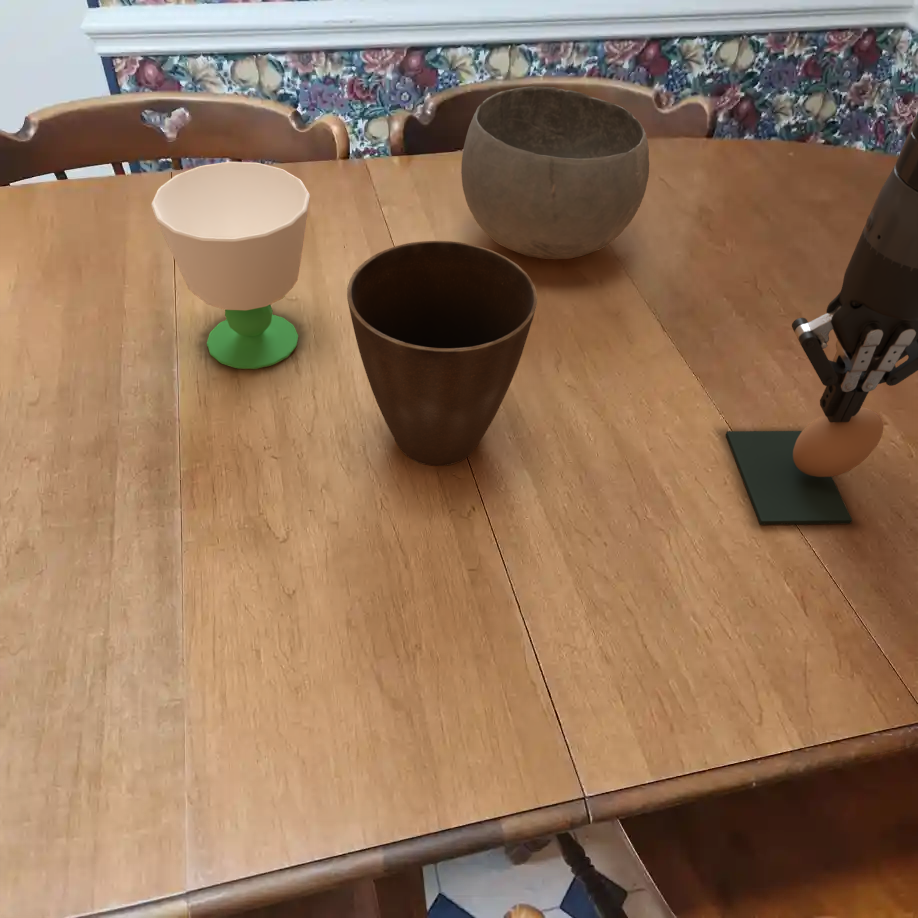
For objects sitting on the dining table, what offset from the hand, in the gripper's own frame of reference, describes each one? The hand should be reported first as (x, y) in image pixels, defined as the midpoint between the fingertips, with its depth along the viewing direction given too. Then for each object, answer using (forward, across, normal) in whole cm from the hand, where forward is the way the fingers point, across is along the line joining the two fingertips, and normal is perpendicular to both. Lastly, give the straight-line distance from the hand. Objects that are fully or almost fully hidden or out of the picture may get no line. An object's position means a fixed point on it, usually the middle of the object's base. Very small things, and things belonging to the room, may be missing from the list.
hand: (835, 415), depth 75 cm
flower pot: (+7, -33, +5) cm, 34 cm away
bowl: (+8, -19, +38) cm, 43 cm away
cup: (+7, -51, +19) cm, 55 cm away
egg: (+6, -2, -1) cm, 6 cm away
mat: (+7, -2, -1) cm, 7 cm away
